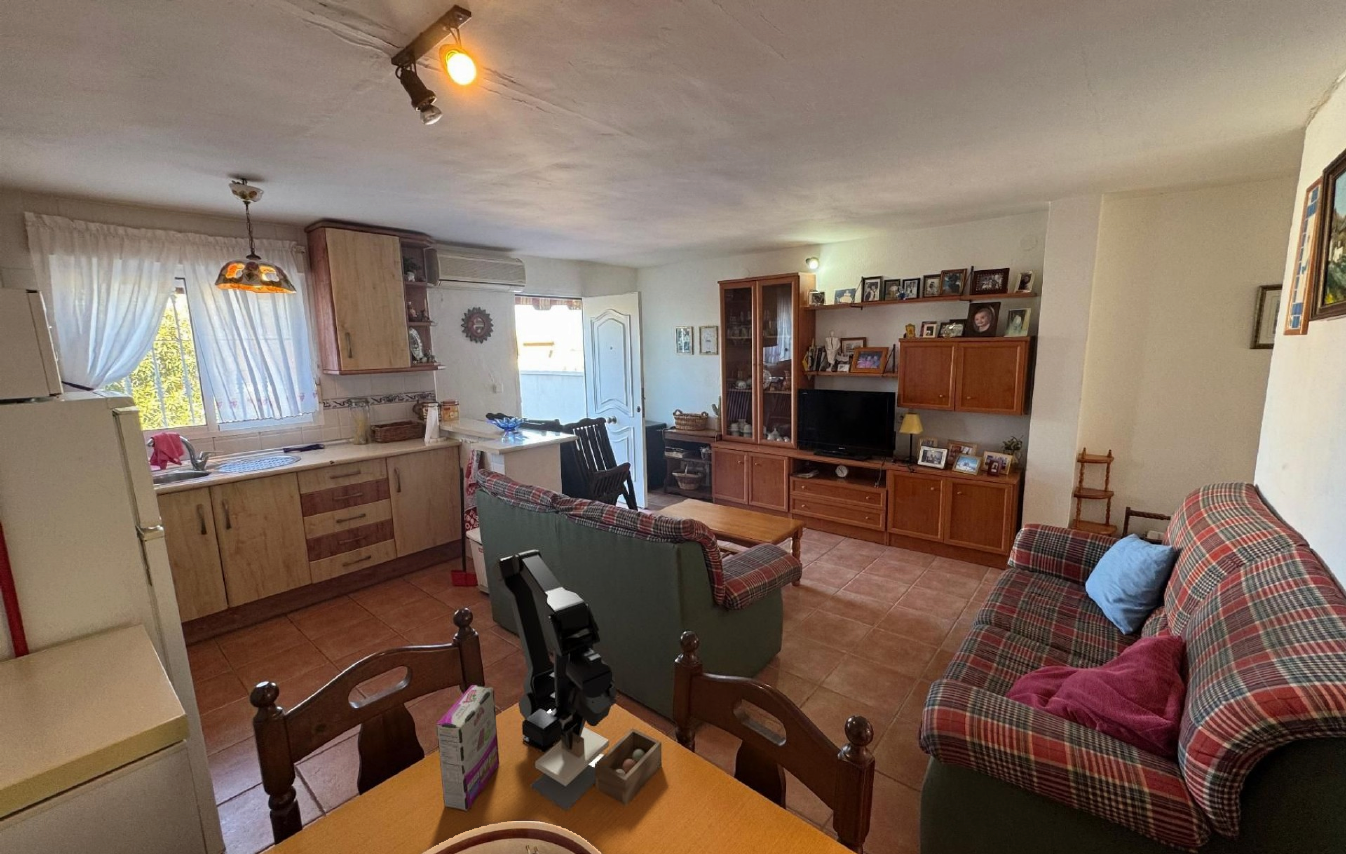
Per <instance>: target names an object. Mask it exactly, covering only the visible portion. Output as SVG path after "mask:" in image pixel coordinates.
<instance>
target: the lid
mask: <svg viewBox="0 0 1346 854" xmlns="http://www.w3.org/2000/svg"><path fill="white" fill-rule="evenodd" d="M609 746H610V740H609V739H608V738H606V737H603V736H602V735H600V734H598V733H596V732H594V731H593V730H590V729H589V728H587V727H585V726H584V728H583V731H582V734H581V736H579V735H577V734H575V733H573V743H572V749H571V750H569V749H567V748H566V747H565V745H564V743H563V741H562V740H561V739H560V740H559V741H558V742H556V743H555V744H554V745H553V746H552V747H550V748H549V749H548V750H547V751H545V752H544V754H542V756H540V757H539V758H538V759H537V760H535V762H534V763H535V769H537V770H538V771H540V772H542V773H543V774H544V773H545V774H547V775H548V776H550V777H551V778H553V779H555V780H556V781H558V782H560V783H561V784H563V785H564V786H567V785H568V784H569V783H570V782H571V781H572V780H573V779H574V778H575V777H576V776H577V775H578V774H579V773H580V772H581V771H583V770H584V769H585V768H586V767H587V766H588V765H589V764H590V763H591V762H592V761H593V760H594V759H595V758H596V757H597V756H599V755H600V754H603V752H604V751H605V750H606V749H607V748H608V747H609Z"/></svg>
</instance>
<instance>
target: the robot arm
mask: <svg viewBox="0 0 1346 854" xmlns="http://www.w3.org/2000/svg"><path fill="white" fill-rule="evenodd" d="M491 569H492V571H491V573H492V576H493V579H494V580H495V582H496V583H497V586H498V589H499V590H500V592H501V593H502V594H503V595H504V596H505V597H507V598H508V600H509V602H510V604H511V608H512V612H513V616H514V620H515V623H516V628H517V631H518V636H519V639H520V644H521V647H522V651H523V652H522V653H523V654H524V660H525V663H526V667H527V671H526V675H525V679H524V682H523V690H524V695H523V696H522V697H521V698H520V700H519V701H518V708H519V714H521V716H522V717H523V718H524V720H522V723H521V724H522V725H521V729H522V730H521V731H522V735H523V737H522V741H523V742H525V743H527V744H528V745H530V746H532V747H534V748H535V749H537V750H539V751H540V752H542V753H546V752H548V751H549V750H550V749H551V748H552V747H554V746H555V745H556V744H557V743H558V742H560V741H561V740H562V741H563V743H564V745H565V747H566V748H567V749H569V750H571V749H572V743H573V733H575V734H577V735H579V736H581V734H582V731H583V728H584V727H585V725H586V723H587V724H588V725H589V726H590V727H596V726H597V725H599V724H600V723H601V721H603V719H604V720H605V718H607V717H608V716H609V714H610V711H611V708H612V706H614V705H615V704H616V703H617V699H616V697H617V686H616V684H615V683H616V682H615V680H614V678H613V671H612V669H611V667H610V665H608V664H607V663H606V662H605V661H604V660H603V659H602V656H601V655H600V654H599V653H597V652H596V651H594V645H596V644H599V643H600V642H601V638H600V635H599V632H600V629H599V626H598V624H597V622H596V619H595V617H594V615H593V612H592V610H591V608H590V605H588V603H587V602H585V601H584V599H583V598H582V597H580V595H578V594H577V593H576V592H572V591H569V590H566V589H565V588H564V587H563V586H562V584H561V583H560V582H559V580H558V579H557V578H556V576H555V575H554V573H553V572H552V571H551V570H550V568H549V567H548V566H547V564H546V563H545V562H544V560H543V557H542V554H541V552H540V551H539V549H529V550H523V551H521V552H517V553H515V554H511V555H507V556H502V557H498V558H497V559H496V562H495V563H494V564H493V565H492V568H491ZM535 598H536V599H537V601H538V602H539V603H540V605H541V607H542V608H543V610H544V615H543V616H544V617H543V623H544V626H545V630H546V633H547V635H548V637H549V639H550V641H551V644H552V649H553V651H552V652H553V661H552V659H551V658H550V652H549V650H548V646H547V642H546V638H545V635H544V631H543V626H542V624H541V620H540V617H539V616H540V615H539V612H538V608H537V605H536V602H535V601H536V600H535ZM585 631H588V633H586V634H583V635H578V634H579V633H580V634H581V633H582V632H585Z"/></svg>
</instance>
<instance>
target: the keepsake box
mask: <svg viewBox="0 0 1346 854" xmlns="http://www.w3.org/2000/svg"><path fill="white" fill-rule="evenodd" d="M603 755H604V756H603V757H601V758H600V759H599V760H598V761H597V762H596V763H595V777H596V782H595V789H596V790H598V791H600V792H602V793H603V794H605V795H607V796H609V797H610V798H612V799H613V800H615V801H617V802H619V803H620V804H622V805H624V806H627V805H628V804H629V803H631V801H632V800H633V798H634V797H635V796H637V794H638V793H639V792H640V791H641V790H642V789H643V787H644V786H645V785H646V784H647V783H648V782H649V781H650V779H651V778H653V776H654V775H655V774H656V772H657V771H659V769H660V768H661V767H662V765H663V763H662V760H663V759H662V741H660V740H658V739H656V738H653V737H652V736H649V735H648V734H645V733H644V732H642V731H639V730H638V729H635V728H633V727H632V728H631V729H630V730H629V731H628V732H627V733H626V734H624V736H622V737H621V738H620V739H619V740H618V741H617V742H616V743H615V744H614V745H613V746H612V747H611V748H610V749H608V750H607V752H606V753H604V754H603Z"/></svg>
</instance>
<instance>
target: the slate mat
mask: <svg viewBox="0 0 1346 854" xmlns="http://www.w3.org/2000/svg"><path fill="white" fill-rule="evenodd" d="M604 755H605V754H603V753H601V754H600V755H599V756H597V757H596V758H595V759H594V760H593V761H592V762H591V763H590V764H589V765H588V766H587V767H586V768H585V769H584V770H583V771H581V772H580V773H579V774H578V775H577V776H576V777H575V778H574V779H573V780H572V781H571V782H570V783H569V784H568V785H567V786H564V785H563V784H561V783H560V782H558V781H556V780H555V779H553V778H551V777H550V776H548V775H547V774H545V773H543V774H542V775H541V776H540V777H538V779H536V780H535V781H534V782H533V783H531V785H530V788H531V789H532V790H534V791H535V792H537V793H538V794H540V795H541V796H542V797H544V798H546V799H547V800H549V801H550V802H552V803H553V804H554V805H557V806H558V807H560V808H561V809H562V810H564V811H566V812H567V811H568V810H569V809H570V808H571V807H572V806H573V805H574V804H575V803H577V801H578V800H579V799H581V797H582V796H583V795H584V794H585V793H586V792H587V791H588V790H589V789H590V788H591V787H593V785H594V784H596V777H595V763H596V762H597V761H598V760H599V759H600V758H601V757H603V756H604Z"/></svg>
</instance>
